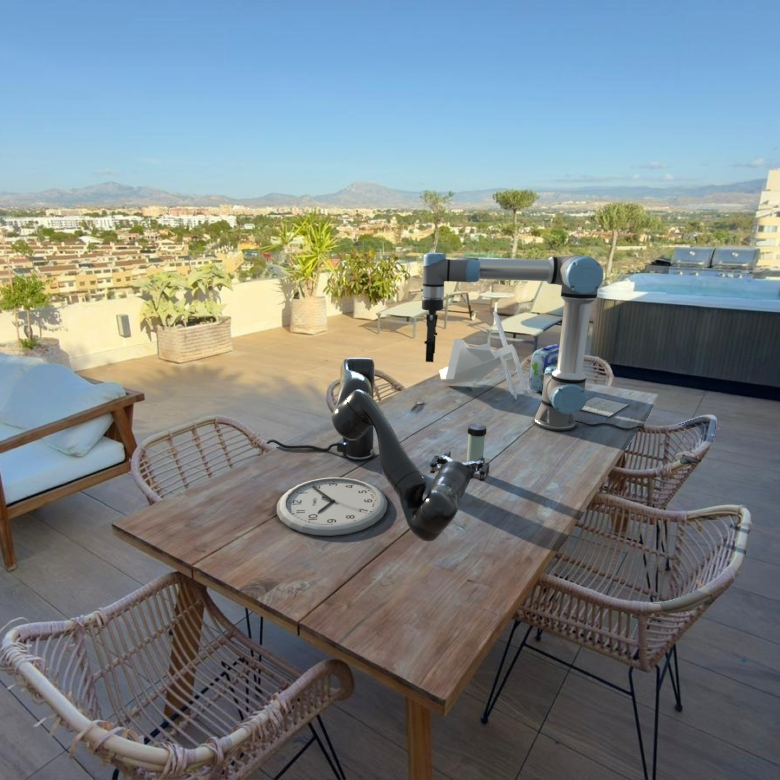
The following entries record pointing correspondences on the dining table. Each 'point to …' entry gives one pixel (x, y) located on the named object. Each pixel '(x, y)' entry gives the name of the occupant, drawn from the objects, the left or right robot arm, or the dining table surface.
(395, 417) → the dining table surface
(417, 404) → the fork
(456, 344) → the white plastic object
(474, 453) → the jar
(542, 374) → the lunch box
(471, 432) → the lid
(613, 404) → the invitation card
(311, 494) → the wall clock
